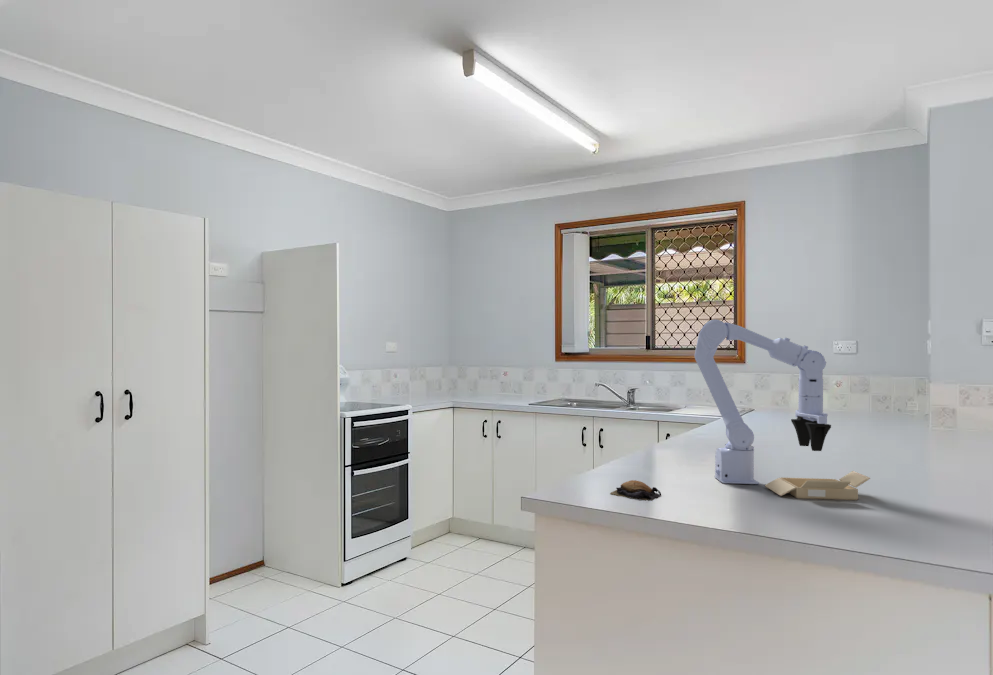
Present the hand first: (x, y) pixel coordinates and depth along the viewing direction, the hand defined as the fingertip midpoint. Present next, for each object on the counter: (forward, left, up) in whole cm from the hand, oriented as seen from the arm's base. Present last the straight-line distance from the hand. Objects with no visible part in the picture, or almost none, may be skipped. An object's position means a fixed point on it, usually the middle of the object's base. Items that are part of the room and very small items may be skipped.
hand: (810, 448), depth 159 cm
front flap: (-3, -16, -6) cm, 17 cm away
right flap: (+7, -8, -6) cm, 12 cm away
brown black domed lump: (-47, -15, -11) cm, 51 cm away
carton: (-4, -6, -10) cm, 12 cm away
